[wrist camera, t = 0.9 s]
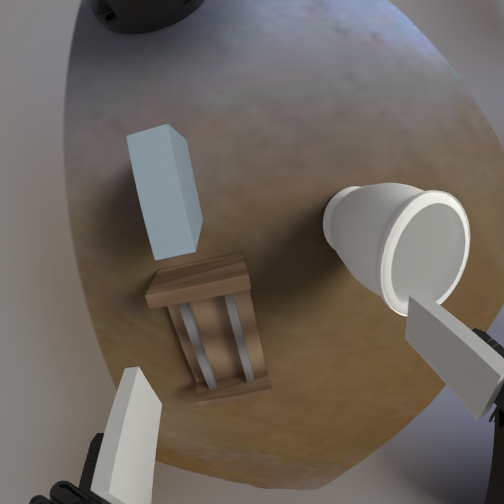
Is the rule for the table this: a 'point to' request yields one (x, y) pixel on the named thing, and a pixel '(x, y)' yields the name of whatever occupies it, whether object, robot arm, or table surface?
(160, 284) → the wooden rod frame
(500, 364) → the robot arm
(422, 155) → the table surface
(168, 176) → the blue-gray rectangular block
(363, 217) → the jar
